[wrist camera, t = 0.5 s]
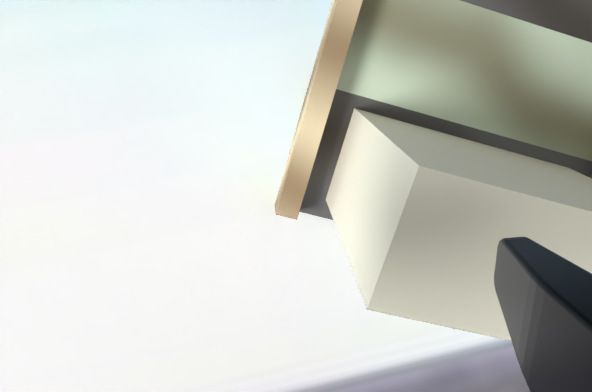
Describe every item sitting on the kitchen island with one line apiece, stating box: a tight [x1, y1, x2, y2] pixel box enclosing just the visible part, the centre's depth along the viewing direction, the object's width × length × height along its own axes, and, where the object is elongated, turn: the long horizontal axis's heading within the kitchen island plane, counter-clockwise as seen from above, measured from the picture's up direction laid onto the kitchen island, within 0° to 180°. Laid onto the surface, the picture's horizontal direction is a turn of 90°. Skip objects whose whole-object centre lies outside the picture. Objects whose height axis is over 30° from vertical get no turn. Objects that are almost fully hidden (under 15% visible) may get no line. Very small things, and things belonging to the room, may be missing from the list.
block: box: [326, 108, 592, 341], centre depth 20 cm, size 4×11×10 cm, turn 74°
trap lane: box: [275, 0, 592, 220], centre depth 23 cm, size 14×16×1 cm
